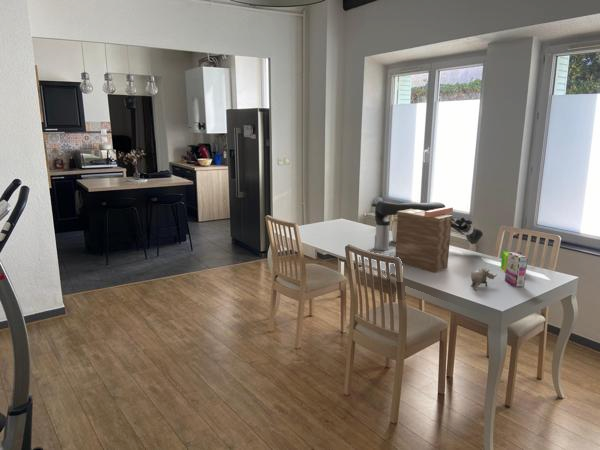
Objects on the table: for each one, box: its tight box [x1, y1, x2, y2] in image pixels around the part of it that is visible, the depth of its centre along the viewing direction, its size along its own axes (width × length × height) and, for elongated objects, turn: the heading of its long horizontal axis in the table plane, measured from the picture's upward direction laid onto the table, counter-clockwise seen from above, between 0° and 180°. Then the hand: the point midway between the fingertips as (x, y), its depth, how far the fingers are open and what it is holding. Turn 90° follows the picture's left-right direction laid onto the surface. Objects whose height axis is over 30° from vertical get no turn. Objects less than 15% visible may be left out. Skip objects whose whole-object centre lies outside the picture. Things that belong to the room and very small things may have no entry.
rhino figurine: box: [470, 268, 498, 291], centre depth 231 cm, size 8×14×15 cm
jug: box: [390, 216, 398, 243], centre depth 324 cm, size 15×16×25 cm
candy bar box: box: [504, 251, 529, 288], centre depth 236 cm, size 11×5×16 cm, turn 5°
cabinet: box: [394, 209, 454, 273], centre depth 266 cm, size 15×29×32 cm, turn 42°
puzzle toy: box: [500, 251, 525, 273], centre depth 260 cm, size 10×10×10 cm
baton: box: [424, 206, 454, 217], centre depth 260 cm, size 26×3×3 cm, turn 132°
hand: (455, 217), depth 274 cm, fingers open, 8 cm apart
